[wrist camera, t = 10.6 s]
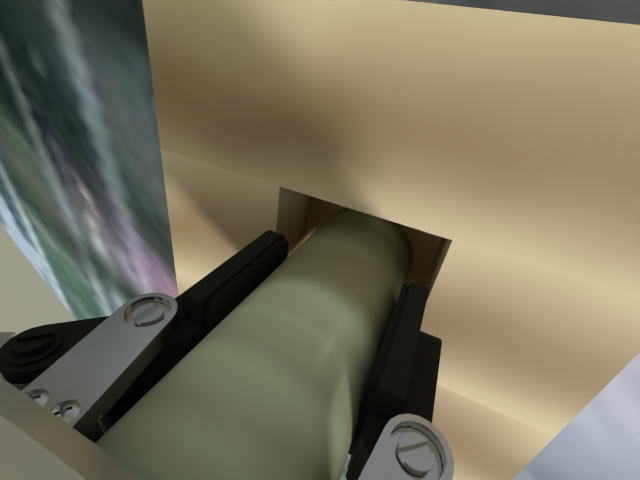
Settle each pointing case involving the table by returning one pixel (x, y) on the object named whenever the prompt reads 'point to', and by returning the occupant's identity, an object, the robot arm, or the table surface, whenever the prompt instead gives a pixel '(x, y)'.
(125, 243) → the table surface
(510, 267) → the socket block
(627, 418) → the table surface
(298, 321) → the peg
